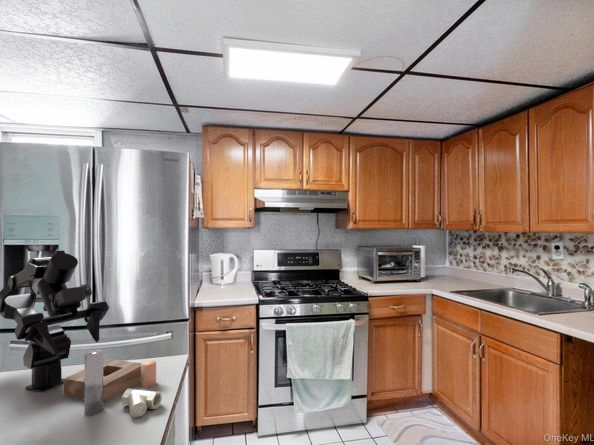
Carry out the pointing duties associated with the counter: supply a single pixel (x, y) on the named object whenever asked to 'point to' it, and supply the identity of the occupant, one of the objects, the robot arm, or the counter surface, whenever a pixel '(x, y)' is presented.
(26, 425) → the counter surface
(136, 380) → the walnut block
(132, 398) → the pipe fitting
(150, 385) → the short terracotta pin
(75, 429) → the counter surface
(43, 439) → the counter surface
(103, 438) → the counter surface
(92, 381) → the tall metal pin
